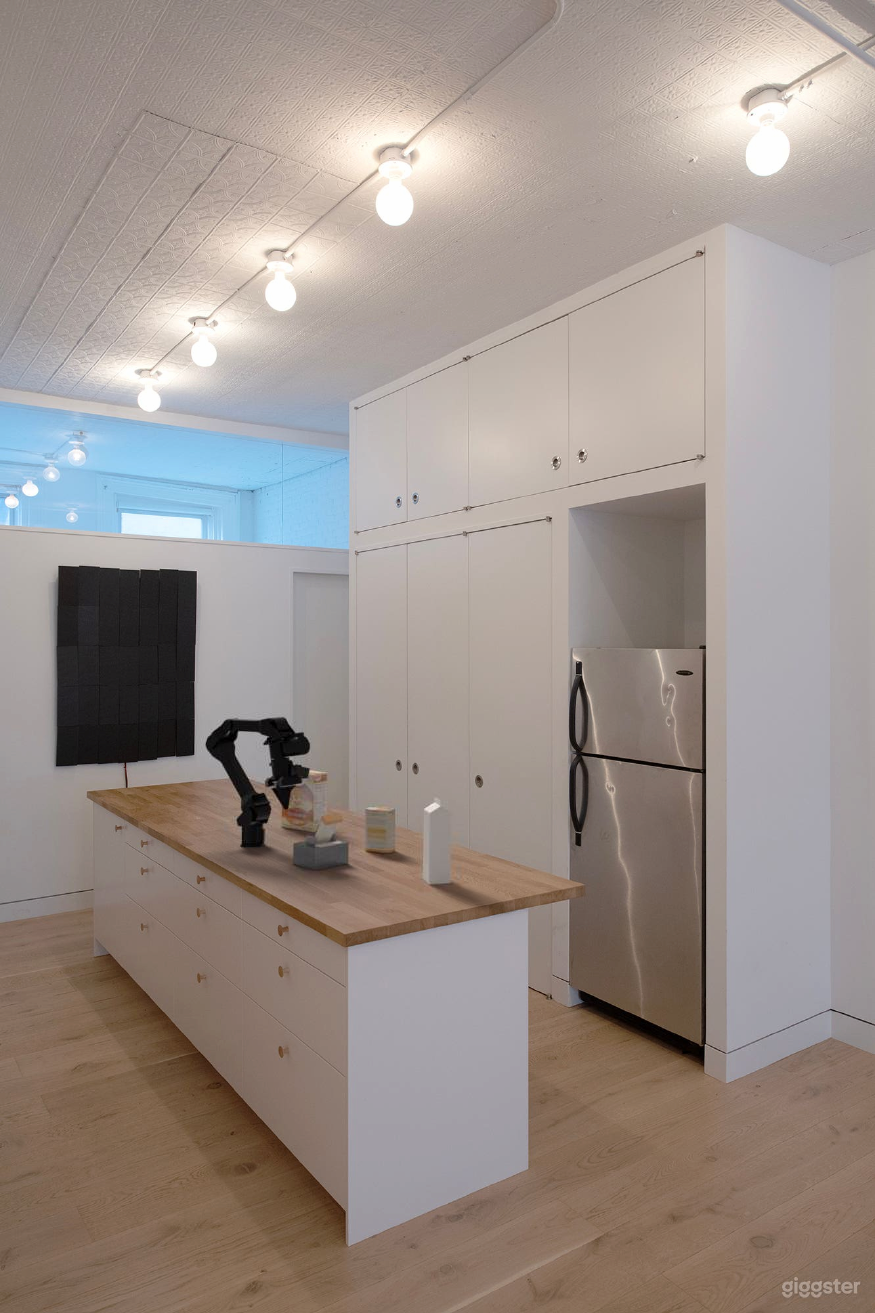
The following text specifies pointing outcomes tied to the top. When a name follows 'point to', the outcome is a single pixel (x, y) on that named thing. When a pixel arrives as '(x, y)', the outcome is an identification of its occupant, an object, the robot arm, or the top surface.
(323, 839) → the lever
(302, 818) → the coffeecake box
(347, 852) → the box
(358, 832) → the top surface
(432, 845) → the milk
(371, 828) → the supplement box
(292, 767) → the robot arm
